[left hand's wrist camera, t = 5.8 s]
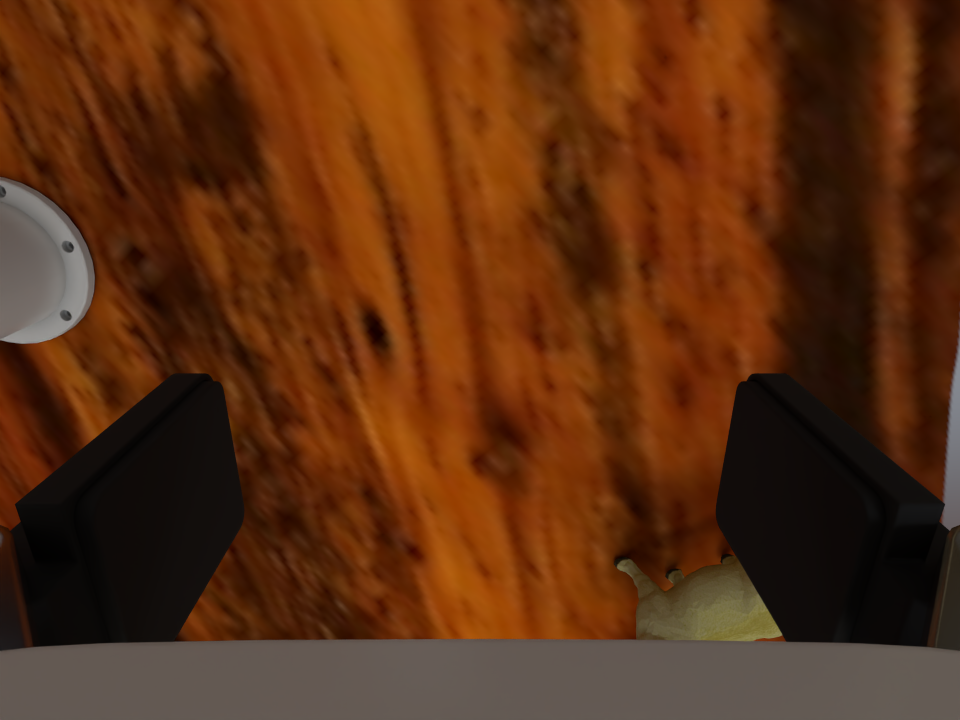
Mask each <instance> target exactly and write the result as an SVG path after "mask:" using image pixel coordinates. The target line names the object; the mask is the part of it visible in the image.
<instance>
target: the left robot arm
mask: <svg viewBox="0 0 960 720" xmlns="http://www.w3.org/2000/svg"><path fill="white" fill-rule="evenodd" d="M94 284H95V275H94V268H93V262H92V259H91V256H90V253H89V250H88V247H87V245H86V243H85V241H84V239H83V237H82V236H81V234H80V232H79V230H78V229H77V228H76V226H75V225H74V224H73V222H72V221H71V220H70V218H69V217H68V216H67V215H66V214H65V213H64V212H63V211H62V210H61V209H60V208H59V207H58V206H57V205H56V204H55V203H54V202H52V201H51V200H49V199H48V198H47V197H45V196H44V195H42V194H41V193H40V192H38V191H36V190H34V189H32V188H30V187H28V186H26V185H24V184H22V183H20V182H17V181H13V180H10V179H7V178H4V177H0V340H3V341H6V342H13V343H22V344H24V343H38V342H42V341H46V340H50V339H53V338H55V337H57V336H59V335H61V334H63V333H65V332H67V331H68V330H70V329H71V328H73V327H74V326H76V325H77V323H78V322H79V321H80V320H81V319H82V318H83V317H84V316H85V314H86V312H87V310H88V308H89V307H90V305H91V301H92V298H93V294H94ZM15 506H16V509H17V512H18V514H19V517H20V520H21V522H20V523H19V524H18V525H17V526H15V527H14V528H13V529H12V530H11V531H10V530H9V529H8V528H7V527H4V526H1V525H0V720H960V525H959V526H956V527H953V528H952V529H951V530H950V531H949V530H948V529H947V528H946V527H945V526H943V525H942V524H941V523H940V522H939V520H940V517H941V514H942V512H943V509H944V506H945V504H944V503H943V502H942V501H940V500H939V499H938V498H937V497H936V496H934V495H933V494H932V493H931V492H930V491H928V490H927V489H926V488H925V487H924V486H922V485H921V484H920V483H919V482H917V481H916V480H915V479H914V478H913V477H911V476H910V475H909V474H908V473H907V472H905V471H904V470H903V469H902V468H900V467H899V466H898V465H897V464H896V463H894V462H893V461H892V460H891V459H890V458H888V457H887V456H886V455H885V454H884V453H882V452H881V451H880V450H879V449H877V448H876V447H875V446H874V445H873V444H871V443H870V442H869V441H868V440H867V439H865V438H864V437H863V436H862V435H860V434H859V433H858V432H857V431H856V430H854V429H853V428H852V427H851V426H850V425H848V424H847V423H846V422H845V421H844V420H842V419H841V418H840V417H839V416H837V415H836V414H835V413H834V412H833V411H831V410H830V409H829V408H828V407H827V406H825V405H824V404H823V403H822V402H820V401H819V400H818V399H817V398H816V397H814V396H813V395H812V394H811V393H810V392H808V391H807V390H806V389H805V388H803V387H802V386H801V385H800V384H799V383H797V382H796V381H795V380H794V379H793V378H791V377H790V376H789V375H787V374H751V375H750V376H749V378H748V380H747V381H743V382H740V383H739V385H738V387H737V390H736V395H735V401H734V407H733V412H732V418H731V424H730V429H729V435H728V441H727V446H726V452H725V458H724V463H723V469H722V475H721V480H720V486H719V492H718V497H717V503H716V518H717V523H718V525H719V528H720V529H721V531H722V533H723V535H724V536H725V538H726V540H727V541H728V543H729V545H730V546H731V548H732V550H733V552H734V553H735V555H736V557H737V558H738V560H739V562H740V563H741V565H742V567H743V569H744V570H745V572H746V574H747V575H748V577H749V579H750V580H751V582H752V584H753V586H754V587H755V589H756V591H757V592H758V594H759V596H760V597H761V599H762V601H763V603H764V604H765V606H766V608H767V609H768V611H769V613H770V614H771V616H772V618H773V620H774V621H775V623H776V625H777V626H778V628H779V630H780V631H781V633H782V635H783V637H784V638H785V640H786V642H765V641H712V640H551V639H410V640H248V641H195V642H174V640H175V638H176V637H177V635H178V633H179V631H180V630H181V628H182V626H183V625H184V623H185V621H186V620H187V618H188V616H189V614H190V613H191V611H192V609H193V608H194V606H195V604H196V603H197V601H198V599H199V597H200V596H201V594H202V592H203V591H204V589H205V587H206V586H207V584H208V582H209V580H210V579H211V577H212V575H213V574H214V572H215V570H216V569H217V567H218V565H219V563H220V562H221V560H222V558H223V557H224V555H225V553H226V552H227V550H228V548H229V546H230V545H231V543H232V541H233V540H234V538H235V536H236V535H237V533H238V531H239V529H240V528H241V525H242V523H243V518H244V503H243V497H242V492H241V486H240V480H239V475H238V469H237V463H236V458H235V452H234V446H233V441H232V435H231V429H230V424H229V418H228V412H227V407H226V401H225V395H224V390H223V387H222V385H221V383H220V382H217V381H213V380H212V378H211V376H210V375H209V374H173V375H171V376H170V377H169V378H167V379H166V380H165V381H164V382H163V383H161V384H160V385H159V386H158V387H157V388H155V389H154V390H153V391H152V392H150V393H149V394H148V395H147V396H146V397H144V398H143V399H142V400H141V401H140V402H138V403H137V404H136V405H135V406H133V407H132V408H131V409H130V410H129V411H127V412H126V413H125V414H124V415H123V416H121V417H120V418H119V419H118V420H116V421H115V422H114V423H113V424H112V425H110V426H109V427H108V428H107V429H106V430H104V431H103V432H102V433H101V434H100V435H98V436H97V437H96V438H95V439H93V440H92V441H91V442H90V443H89V444H87V445H86V446H85V447H84V448H83V449H81V450H80V451H79V452H78V453H76V454H75V455H74V456H73V457H72V458H70V459H69V460H68V461H67V462H66V463H64V464H63V465H62V466H61V467H60V468H58V469H57V470H56V471H55V472H53V473H52V474H51V475H50V476H49V477H47V478H46V479H45V480H44V481H43V482H41V483H40V484H39V485H38V486H36V487H35V488H34V489H33V490H32V491H30V492H29V493H28V494H27V495H26V496H24V497H23V498H22V499H21V500H20V501H18V502H17V503H16V504H15Z"/></svg>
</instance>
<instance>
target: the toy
mask: <svg viewBox="0 0 960 720" xmlns="http://www.w3.org/2000/svg"><path fill="white" fill-rule="evenodd" d="M721 563H722V564H720V565H711V566H705V567H702V568H700V569H698V570H696V571H695V572H693V573H690V574H689V575H687V576H686V577H684V576H683V574H682V571H681V569H670V570H669V571H668V572H667V573H666V576H665V577H666V578H667V579H669V580H670V581H671V582H672V583H673V585H674V586H673V587H672V588H671V589H669V590H668V591H663V590H662V589H661V588H660V587H659V586H657V584H656V583H655V582H653V581H652V580H650V578H649V577H648V576H647V575H645V574H644V573H643V572H642V571H641V570H640V569H639V568H638V567H637V566H636V564H635V563H634V562H633V561H632V560H631V559H629V558H626V557H621V558H618V559H616V560H615V562H614V565H615V566H616V567H617V568H618V569H619V570H620V571H624V572H626V573H628V574H629V575H630V576H631V577H632V578H633V580H634V583H635V585H636V586H637V588H638V597H639V602H638V605H637V610H636V622H637V625H636V634H637V640H712V641H754V640H756V639H759V638H774V637H779V636H781V635H782V633H781V631H780V630H779V628H778V626H777V625H776V623H775V621H774V620H773V618H772V616H771V614H770V613H769V611H768V609H767V608H766V606H765V604H764V603H763V601H762V599H761V597H760V596H759V594H758V592H757V591H756V589H755V587H754V586H753V584H752V582H751V580H750V579H749V577H748V575H747V574H746V572H745V570H744V569H743V567H742V565H741V563H740V562H739V560H738V558H737V557H735V556H734V555H730V554H725V555H722V557H721Z"/></svg>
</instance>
